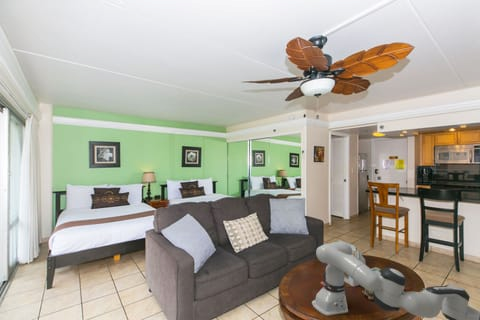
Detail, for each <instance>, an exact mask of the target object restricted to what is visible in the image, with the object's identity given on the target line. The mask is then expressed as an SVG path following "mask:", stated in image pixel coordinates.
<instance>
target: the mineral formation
mask: <svg viewBox="0 0 480 320" xmlns="http://www.w3.org/2000/svg"><path fill="white" fill-rule="evenodd" d="M373 292H374V291H369V290H367V289H365V288H364V290H362V293H363V295H364V296H366V297H367V299H368V300H373Z"/></svg>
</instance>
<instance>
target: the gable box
mask: <svg viewBox="0 0 480 320" xmlns="http://www.w3.org/2000/svg"><path fill="white" fill-rule="evenodd" d="M339 241H340V242H345V241H344V240H342V239H338V242H339ZM347 243H348V244H349V245H350V246H351V248H352V252H354V253H352V256H354V257H356V258H357V259H358V260H360V261H361V262H362V263H364V264H365V265H366V259H365V258H364V256H363V255H362V254H361V252H360V251H359V250H358V246H356V245H354V244H352V243H349V242H347ZM344 283H345V284H346V283H347V284H348V285H350V286H351V287H354V288H355V287H357V286H360V285H359V284H358V283H357V282H356V281H354V280H353V279H352V278H351V277H350V276H349V275H347V274H346V273H345V272H344Z"/></svg>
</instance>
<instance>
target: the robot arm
mask: <svg viewBox="0 0 480 320" xmlns="http://www.w3.org/2000/svg"><path fill="white" fill-rule="evenodd" d="M348 243H349V242H347V241H344V242H340V241H339V240H338V241H334V242H330V243H325V244H322V245H320V246H318V247H317V248H316V251H315V252H316V253H315V255H316V257H317V259H318V261H319V262H320V263H323V264H327V265H326V267H325V280H324V281H321V282H320V285H322V286H323V287H322V288H321V289H320V290H319V291H318V292H317V293H316V296H315V299H313V300H312V301H311V305H312V307H313V308H314V309H315V310H316V311H317V312H319V313H320V314H322V315H324V316H326V317H327V316H334V315H339V314H346V313H349V309H348V306H349V305H348V303H347V297H346V282H345V281H344V272H345V273H346V274H347V275H349V276H350V277H351V278H352V279H353V280H354V281H356V282H357V283H358V284H359V285H358V286H361V287H362V288H364V290H365V289H367V290H369V291H374V292H373V299H372V301H373V303H374V304H375V305H377V306H378V308H380V309H382V310H383V311H387V312H394V311H396V312H398V311H400V308H402V309H403V310H405V312H407V313H410V314H411V315H414V316H416V317H421V318H425V319H433V318H436V317H438V315H439V314H440V312H441V313H442V315H443V317H444V318H445V319H447V320H480V311H479V310H477V309H475V308H473V307H472V306H470V305H469V302H470V298H471V297H470V295H469V293H468V291H466V289H463V288H462V287H460V286H458V285H454V284H446V285H438V286H436V285H435V286H427V287H426V288H425V287H423V288H421V291H419V292H417V291H413V290H412V291H405V287H406V285H407V281H408V280H407V278H406V276H405V275H404V274H403V273H402V272H400V271H399V270H398V269H394V268H392V267H386V268H383V269H381V270H379V272H380V273H381V274H377V273H375V272H374V271H372V270H371V268H370V267H369V266H368V265H366V263H365V264H364V263H362V262H361V261H360V260H358V259H357V258H356V257H354V256H352V254H353V251H352V248H351V246H350V245H349V244H350V243H349V244H348ZM403 290H404V291H403Z"/></svg>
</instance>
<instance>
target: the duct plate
mask: <svg viewBox="0 0 480 320" xmlns="http://www.w3.org/2000/svg"><path fill="white" fill-rule="evenodd" d="M370 269H371V270H372V271H374V272H375V273H377V274H381V273H380V272H379V270H382V269H381V268H379V267H372V268H370Z"/></svg>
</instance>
